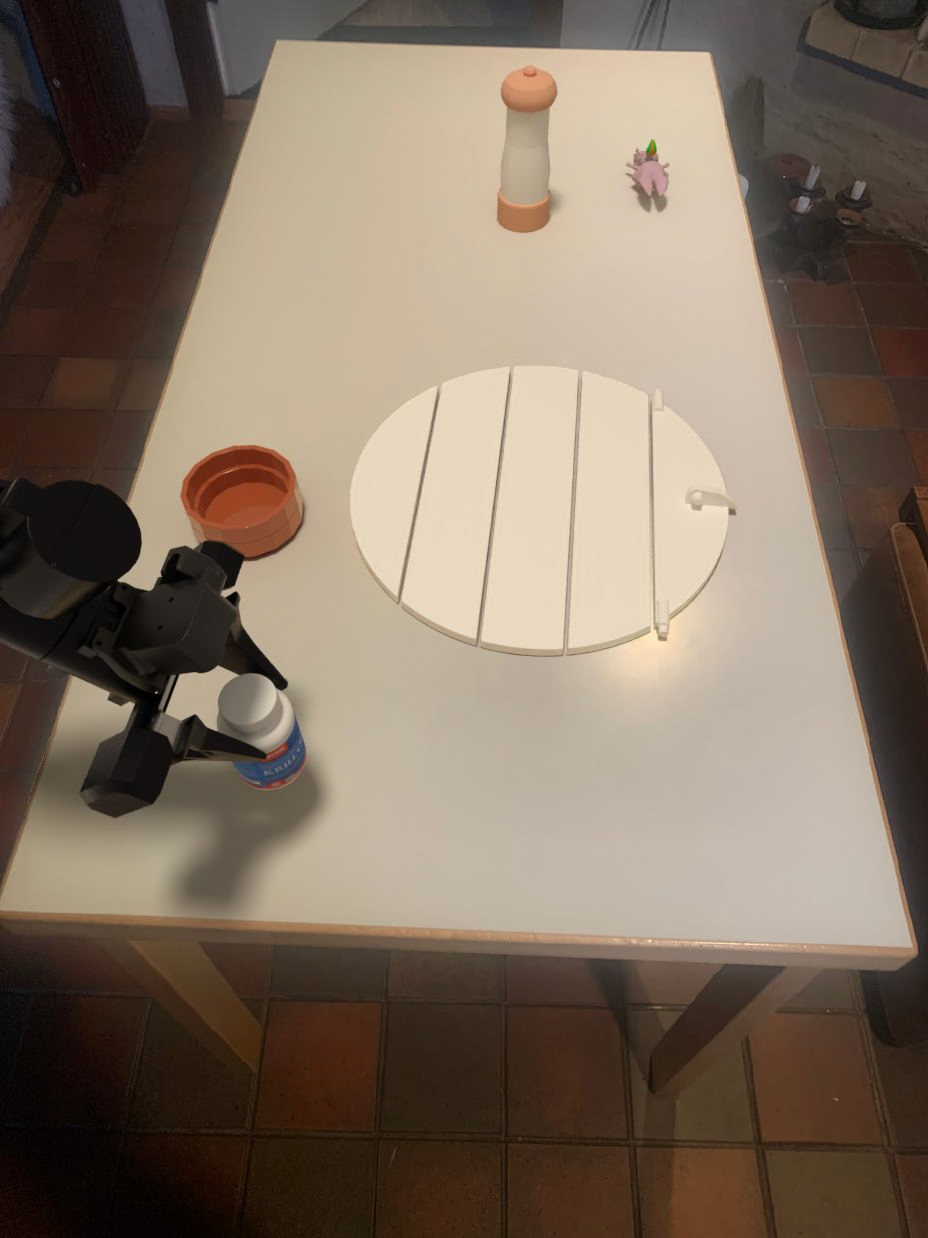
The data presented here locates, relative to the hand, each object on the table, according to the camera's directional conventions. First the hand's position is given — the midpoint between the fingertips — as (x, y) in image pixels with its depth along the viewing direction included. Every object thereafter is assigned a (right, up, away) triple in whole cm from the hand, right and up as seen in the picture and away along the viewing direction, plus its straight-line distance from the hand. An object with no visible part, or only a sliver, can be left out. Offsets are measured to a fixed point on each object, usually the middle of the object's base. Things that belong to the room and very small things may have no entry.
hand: (274, 722), depth 59 cm
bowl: (-9, +18, +28) cm, 34 cm away
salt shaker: (+22, +63, +58) cm, 89 cm away
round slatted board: (+22, +20, +29) cm, 41 cm away
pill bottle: (-1, -4, +6) cm, 7 cm away
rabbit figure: (+40, +70, +63) cm, 102 cm away
